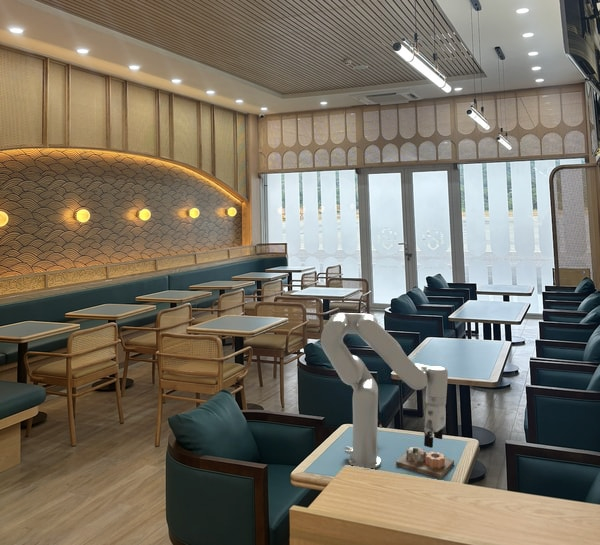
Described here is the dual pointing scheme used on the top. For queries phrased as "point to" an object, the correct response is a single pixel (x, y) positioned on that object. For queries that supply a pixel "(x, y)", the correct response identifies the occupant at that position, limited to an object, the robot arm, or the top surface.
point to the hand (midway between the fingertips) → (433, 442)
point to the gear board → (422, 462)
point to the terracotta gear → (435, 459)
